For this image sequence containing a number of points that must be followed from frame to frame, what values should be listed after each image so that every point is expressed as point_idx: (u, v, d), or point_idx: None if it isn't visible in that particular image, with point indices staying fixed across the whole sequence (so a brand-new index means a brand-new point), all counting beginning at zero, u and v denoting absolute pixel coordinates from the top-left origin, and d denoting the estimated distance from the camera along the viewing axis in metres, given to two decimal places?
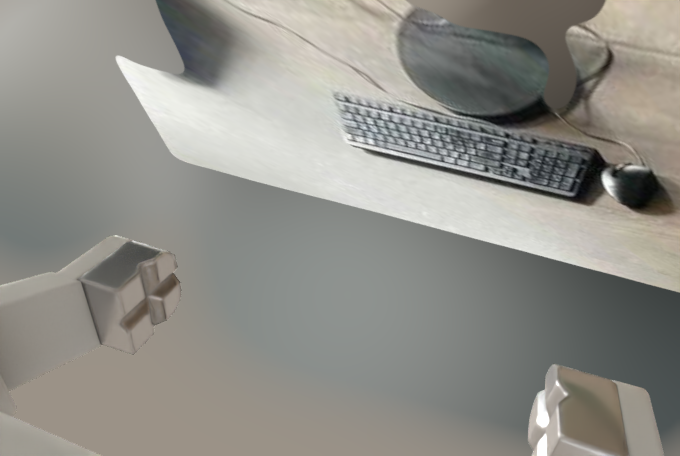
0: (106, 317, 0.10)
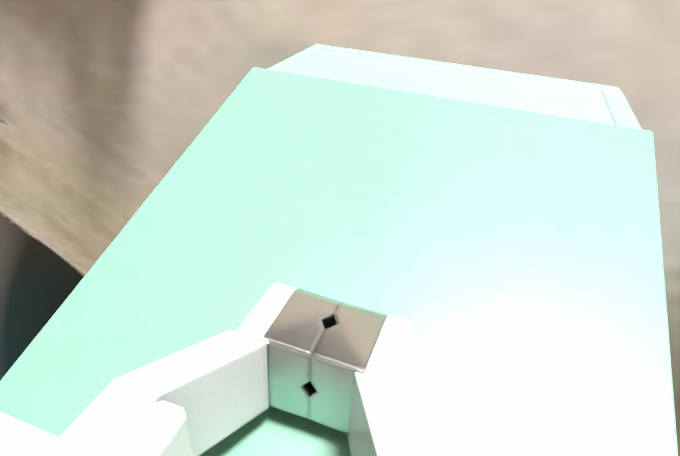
0: (287, 380, 0.09)
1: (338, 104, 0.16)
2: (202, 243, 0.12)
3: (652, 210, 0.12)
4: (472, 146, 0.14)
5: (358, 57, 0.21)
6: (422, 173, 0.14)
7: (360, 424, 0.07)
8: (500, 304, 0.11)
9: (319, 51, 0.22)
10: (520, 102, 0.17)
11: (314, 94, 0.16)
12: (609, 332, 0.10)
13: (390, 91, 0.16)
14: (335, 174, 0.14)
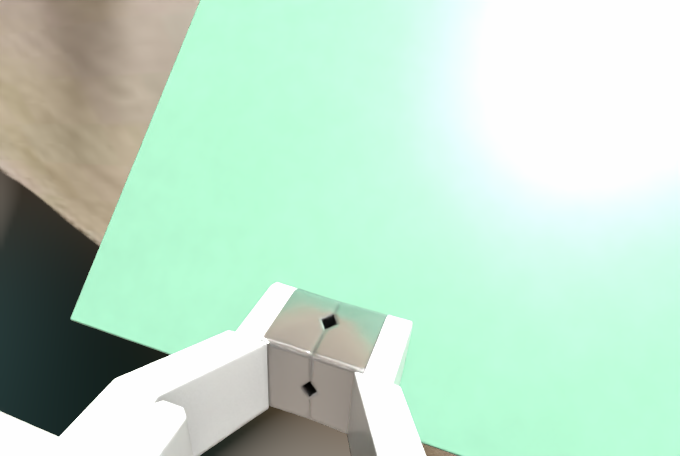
0: (287, 380, 0.09)
1: None
2: (229, 131, 0.12)
3: None
4: None
5: None
6: (454, 19, 0.12)
7: (360, 424, 0.07)
8: (536, 171, 0.11)
9: None
10: None
11: None
12: (650, 192, 0.10)
13: None
14: (357, 33, 0.12)
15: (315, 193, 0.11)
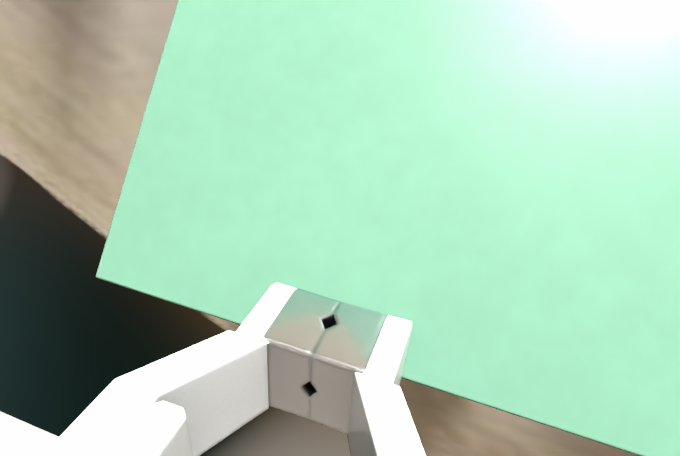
0: (287, 380, 0.09)
1: None
2: (239, 79, 0.12)
3: None
4: None
5: None
6: None
7: (360, 424, 0.07)
8: (567, 113, 0.10)
9: None
10: None
11: None
12: None
13: None
14: None
15: (331, 143, 0.11)
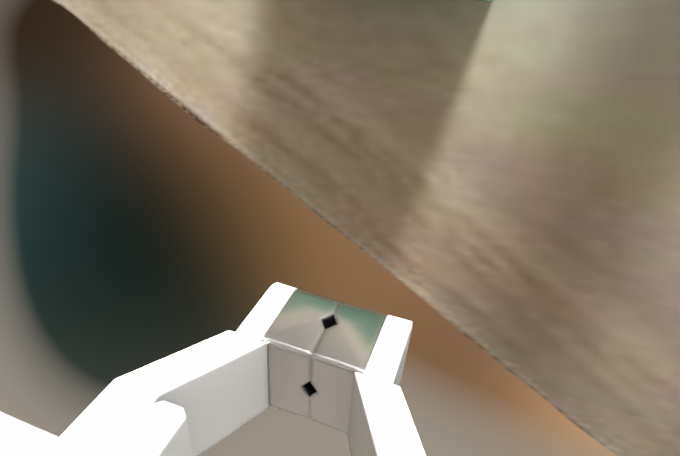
0: (287, 380, 0.09)
1: None
2: None
3: None
4: None
5: None
6: None
7: (360, 424, 0.07)
8: None
9: None
10: None
11: None
12: None
13: None
14: None
15: None
